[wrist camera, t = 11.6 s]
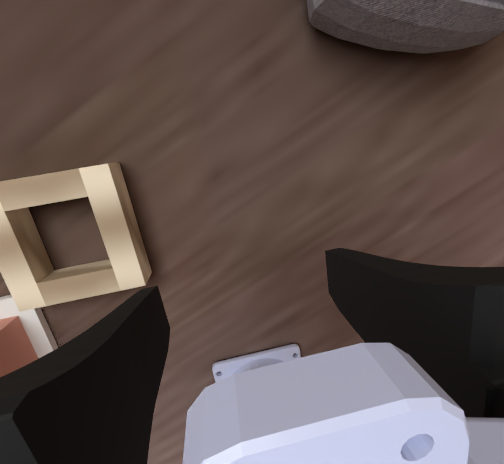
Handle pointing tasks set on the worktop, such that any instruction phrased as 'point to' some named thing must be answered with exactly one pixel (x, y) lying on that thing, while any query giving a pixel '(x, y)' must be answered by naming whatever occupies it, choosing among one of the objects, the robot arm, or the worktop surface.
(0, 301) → the mat
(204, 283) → the worktop surface
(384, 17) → the grey rounded bag
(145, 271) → the pocket holder
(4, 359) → the peg
